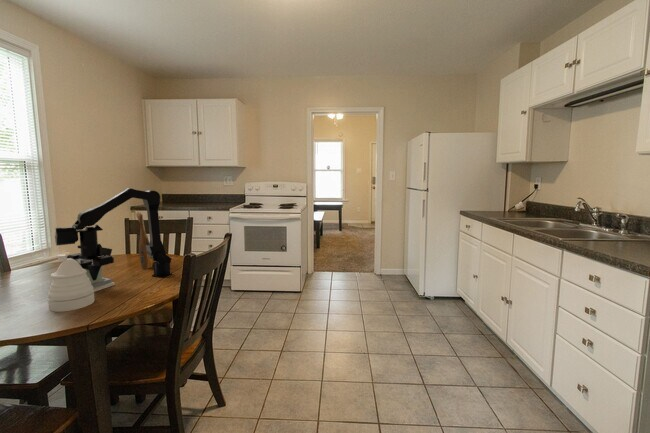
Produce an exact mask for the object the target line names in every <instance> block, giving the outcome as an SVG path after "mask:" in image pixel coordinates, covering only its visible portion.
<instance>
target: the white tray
mask: <svg viewBox="0 0 650 433" xmlns="http://www.w3.org/2000/svg"><path fill="white" fill-rule="evenodd" d="M102 279H103V281H100V282H97V283H93V284H91V285H92V286H93V290H94V291H93V292H94V293H95V292H99V291H100V290H104V289H106V288H109V287H113V286H115V282H113V281H112V278H106V277H102Z"/></svg>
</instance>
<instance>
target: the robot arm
mask: <svg viewBox="0 0 650 433" xmlns="http://www.w3.org/2000/svg"><path fill="white" fill-rule="evenodd" d="M130 199H138V200H142V202H143V206H144V207H145V209H146V212H147V214H146V215H147V221H148V222H147V223H148V233H149V245H146V248H147V254H148V255H149V257H150V258H152V259H153V262H154V263H153V274H151V276H152V277H157V278H164V277H168V276H170V274H171V275H173V274H172V273H173V272H171V262H172V258H171V257H170V256H169V255H167V253H166V249H165V246H164V244H163V242H162V238H161V228H160V227H161V226H160V219H159V216H160V215H159V208H160V205H161V195H160V193H159V192H158V191H156V190H150V189H148V190H139V189H134V188H129V187H128V188H125V189H124V190H123V191H122V192H119V193H118V194H116V195H114V196H113V197H111V198H109V199H108V200H105V201H104V202H102V203H101V204H99V205H96V206H94V207H90V208H88V209H85V210H83V211H81V212H79V213H78V215H77V217H76V218H77V220H76V221H75V222H74V223H73V225H72V226H68V227H66V226H65V227H55V233H54V234H55V235H54V240H55V241H54V242H55V246H56V247H57V246H64V245H66V246H67V245H75V244H76V243H77V242H79V245H77V249H80V252H77V254H75V253H73V254H68V255H66V258H72V259H74V260H76V261H77V262H78V263H79V264H80V265H81V267H82V268H83V269H89V272H90V274H91V277H92V279H93V281H94V280H96V279H97V276H98V273H99V270H100V268H101V267H103V266H106V265H110V264H113V263H115V259H114V258H115V257H113V256H112V251H113V248H110V247H109V248H108V247H103V246H102V244H101V243H99V242H98V232H99V231H103V230H104V229H103V228H102V227H101V226H99V224H96V223H98V222H100V220H101V219H103V217H104V216H105V215H106V214H107V213H109V212H111V211H112V210H114V209H116V208H117V207H119V206H120V205H122V204H124V203H126V202H127V201H129V200H130Z"/></svg>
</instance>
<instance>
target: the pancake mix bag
mask: <svg viewBox="0 0 650 433" xmlns="http://www.w3.org/2000/svg"><path fill="white" fill-rule="evenodd" d="M135 214H136V215H135V216H136V218H137V220H138V222H139V225H140V232H139V242H138V243H139V244H138V254H139V261H140V266H141V269H144V270H148V269H151V268H153V266H154V263H153V262H154V261H153V259H152V258H150V257H149V255H148V254H147V248H146V245H149V243H150V239H149V237H148V235H147V232H146V229H145V228H146V227H145V222H144V218H143V214H142V213H141V212H138V211H137V212H136V213H135Z"/></svg>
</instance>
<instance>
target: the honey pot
mask: <svg viewBox="0 0 650 433" xmlns="http://www.w3.org/2000/svg"><path fill="white" fill-rule="evenodd" d="M56 257H57V260H59V261H60V262H61V261H62V262H61V263H60V265H59V266H58V268H57V269H56V271H55V272H52V273H51V274H50V277H51V278H52V281H51V283H50V287H49V291H48V292H47V304H48V310H49V311H50V312H51V311H52V312H68V311H75V310H78V309H79V310H80V309H81V308H86V307H88V306H90V305H92V304H93V303H95V292H93V291H94V290H93V286H92V285H91V282H90V281H89V278H88V277H87V275H86V272H87V270H86V269H83V268H82V267H81V265H80V264H79V263H78V262H77V261H76V260H74V259H72V258H67V254H57V255H56Z"/></svg>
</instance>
